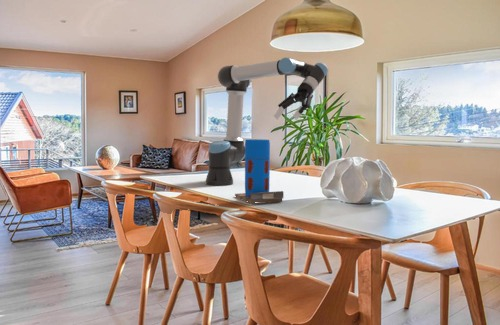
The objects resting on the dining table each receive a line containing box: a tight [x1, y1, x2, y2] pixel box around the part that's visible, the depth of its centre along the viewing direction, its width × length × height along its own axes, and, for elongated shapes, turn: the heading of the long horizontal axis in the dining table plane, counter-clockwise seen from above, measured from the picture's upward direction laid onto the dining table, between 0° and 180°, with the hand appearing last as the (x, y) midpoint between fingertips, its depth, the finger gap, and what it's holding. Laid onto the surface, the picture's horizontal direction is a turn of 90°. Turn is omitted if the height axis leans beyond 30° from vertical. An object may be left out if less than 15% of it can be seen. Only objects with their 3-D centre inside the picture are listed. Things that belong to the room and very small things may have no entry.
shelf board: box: [234, 190, 284, 204], centre depth 195 cm, size 19×15×4 cm
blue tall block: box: [244, 138, 271, 198], centre depth 194 cm, size 11×11×25 cm
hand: (285, 117), depth 213 cm, fingers open, 13 cm apart
